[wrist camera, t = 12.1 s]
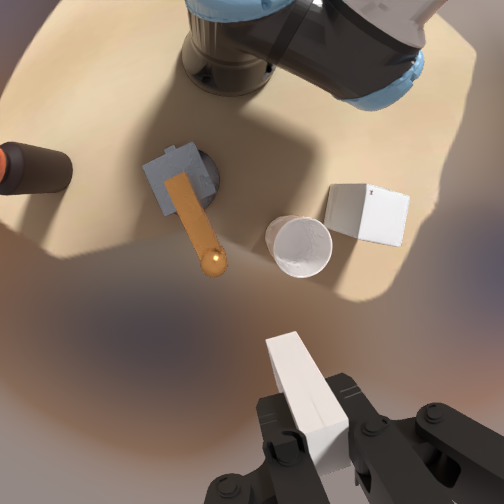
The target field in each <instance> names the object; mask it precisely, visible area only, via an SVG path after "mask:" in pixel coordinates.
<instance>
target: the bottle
mask: <svg viewBox="0 0 504 504" xmlns="http://www.w3.org/2000/svg"><path fill="white" fill-rule="evenodd" d="M72 172H73V168H72V163H71V160H70V158H69V157H68V156H67V155H66V154H64V153H62V152H59V151H55V150H50V149H46V148H41V147H36V146H32V145H27V144H22V143H17V142H6V143H4V144H2V145H0V195H20V194H37V193H55V192H59V191H61V190H63V189H64V188H65V187H66V186H67V185H68V184H69V182H70V180H71V177H72Z"/></svg>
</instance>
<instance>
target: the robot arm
mask: <svg viewBox="0 0 504 504" xmlns="http://www.w3.org/2000/svg"><path fill="white" fill-rule="evenodd" d="M446 1H448V0H185V4H186V5H187V10H188V18H189V25H190V31H189V33H188V35H187V36H186V38H185V40H184V43H183V47H182V61H183V65H184V69H185V71H186V73H187V75H188V77H189V78H190V79H191V80H192V82H193V83H195V84H196V85H197V86H198V87H200V88H201V89H203V90H205V91H207V92H209V93H212V94H215V95H220V96H239V95H244V94H248V93H250V92H253V91H255V90H257V89H258V88H260V87H261V86H263V85H264V84H265V83H266V82H267V81H268V80H269V79H270V77H271V76H272V74H273V72H274V70H275V68H276V66H277V67H279V68H281V69H284V70H286V71H288V72H290V73H292V74H294V75H296V76H298V77H300V78H302V79H304V80H306V81H308V82H310V83H312V84H314V85H316V86H318V87H319V88H321V89H323V90H325V91H327V92H329V93H330V94H332V96H333V97H334V98H336V99H337V100H341V101H343V102H347V103H348V104H350V105H352V106H354V107H356V108H358V109H360V110H364V111H378V110H381V109H384V108H386V107H388V106H390V105H392V104H393V103H395V102H396V101H398V100H399V99H400V98H401V97H403V96H404V95H405V94H406V93H407V92H408V91H409V90H410V88H411V87H412V86H413V81H414V80H415V79H417V78H418V77H419V76H420V74H421V72H422V69H423V66H424V55H423V53H422V51H421V49H422V48H423V47H424V45H425V44H426V38H425V32H424V24H425V23H426V22H427V21H428V20H429V19H430V18H431V17H432V16H433V15H434V14H435V13H436V12H437V11H438V10H439V9H440V8H441V7H442V6H443V5H444V4H445V3H446ZM277 64H278V65H277ZM266 344H267V348H268V352H269V355H270V359H271V364H272V367H273V372H274V376H275V380H276V384H277V387H278V390H279V392H280V393H279V394H275V395H271V396H267V397H264V398H260V399H259V401H258V404H257V406H256V410H257V414H258V418H259V423H260V427H261V432H262V436H263V440H264V442H263V451H264V454H265V457H266V458H265V461H264V462H263V464H262V465H261V466H260V467H259V468H258V469H256V470H254V471H253V472H251V473H249V474H247V475H245V476H242V475H240V474H233V473H231V474H225V475H222V476H219V477H217V478H216V479H215V480H213V481H212V482H211V484H210V486H209V487H208V490H207V494H206V497H205V501H204V504H330V502H329V500H328V497H327V495H326V493H325V490H324V488H323V485H322V483H321V480H320V478H319V477H320V476H322V475H326V474H329V473H331V472H334V471H337V470H340V469H343V468H346V467H348V466H350V459H351V461H352V463H353V465H354V467H355V485H356V486H358V485H359V484H360V485H361V487H362V490H363V491H364V493H365V495H366V497H367V499H368V501H369V503H370V504H454V503H453V501H454V502H456V503H457V504H504V436H502V435H500V434H498V433H496V432H494V431H493V430H491V429H489V428H487V427H485V426H483V425H482V424H480V423H478V422H476V421H474V420H472V419H471V418H469V417H467V416H466V415H463V414H462V413H460V412H458V411H457V410H455V409H453V408H451V407H450V406H448V405H446V404H442V403H430V404H427V405H425V406H423V407H421V409H420V410H419V411H418V412H417V415H416V417H412V418H408V419H403V420H390V419H389V418H388V417H385V416H382V415H379V414H378V413H377V411H376V410H375V408H374V407H373V406H372V404H371V403H370V402H369V400H368V399H367V398H366V396H365V395H364V394H363V393H362V391H361V389H360V388H359V387H358V386H357V384H356V383H355V381H354V380H353V379H352V378H351V377H350V376H347V375H346V374H344V373H340V374H337V375H334V376H331V377H328V378H325V379H324V377H323V376H322V374H321V372H320V371H319V369H318V368H317V366H316V364H315V363H314V361H313V359H312V357H311V356H310V354H309V353H308V351H307V349H306V347H305V346H304V344H303V343H302V341H301V339H300V337H299V336H298V334H297V332H296V331H295V332H291V333H288V334H284V335H281V336H277V337H273V338H270V339H267V340H266ZM452 500H453V501H452Z"/></svg>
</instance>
